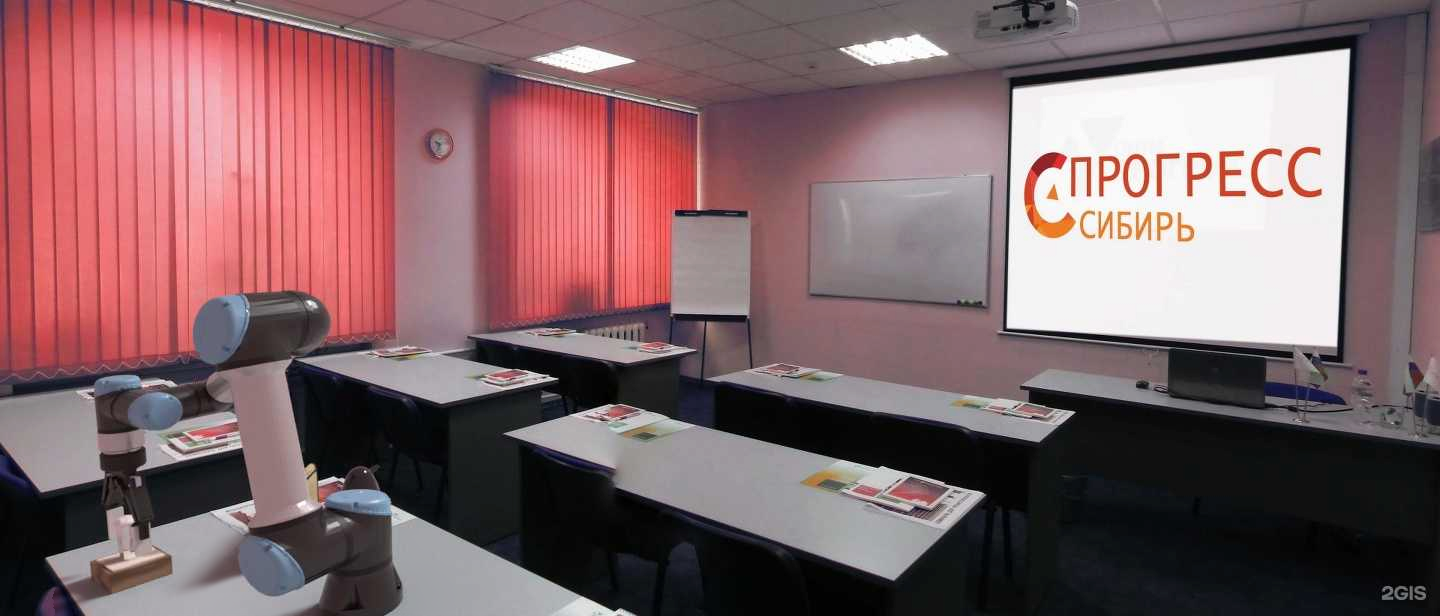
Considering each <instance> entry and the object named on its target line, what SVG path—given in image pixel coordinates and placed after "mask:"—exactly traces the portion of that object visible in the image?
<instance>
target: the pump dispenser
mask: <svg viewBox="0 0 1440 616" xmlns="http://www.w3.org/2000/svg"><path fill="white" fill-rule="evenodd" d="M378 469H380V465H379V464H376V465H374V466H373V467H371V468H367V467H365V466H356V467H354V468H352V469H350V470H349V472H348V473H347V475H346V476H345V478H344V481H343V483H342V486H341V489H340V491H345V490H355V489H368V490H376V491H380V492H381V490H380V489H381V488H380V487H379V484H378V482H377V479H376V478H375V476H374V473H375V472H376V471H378Z"/></svg>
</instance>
